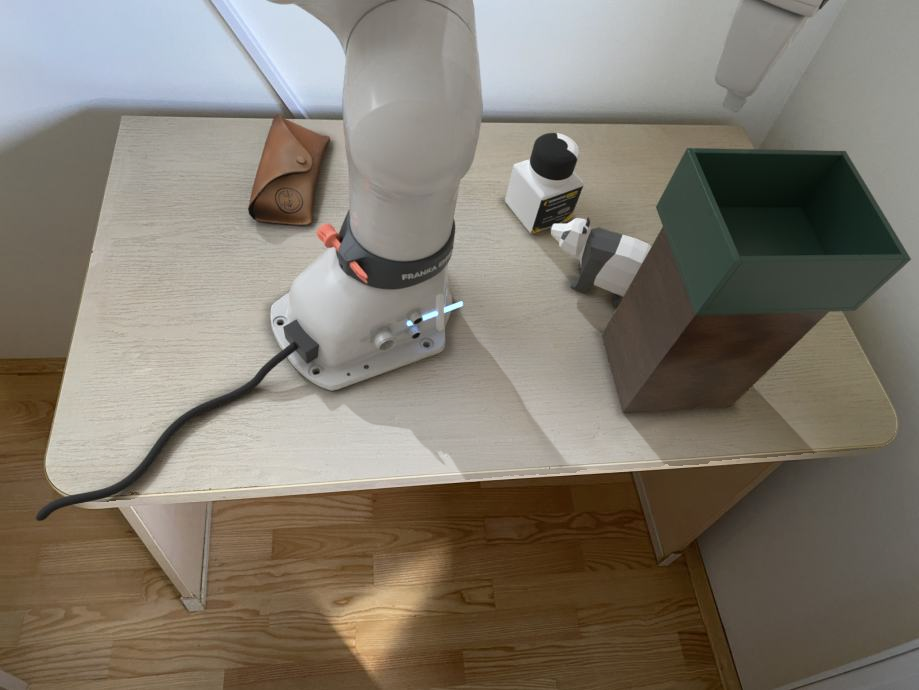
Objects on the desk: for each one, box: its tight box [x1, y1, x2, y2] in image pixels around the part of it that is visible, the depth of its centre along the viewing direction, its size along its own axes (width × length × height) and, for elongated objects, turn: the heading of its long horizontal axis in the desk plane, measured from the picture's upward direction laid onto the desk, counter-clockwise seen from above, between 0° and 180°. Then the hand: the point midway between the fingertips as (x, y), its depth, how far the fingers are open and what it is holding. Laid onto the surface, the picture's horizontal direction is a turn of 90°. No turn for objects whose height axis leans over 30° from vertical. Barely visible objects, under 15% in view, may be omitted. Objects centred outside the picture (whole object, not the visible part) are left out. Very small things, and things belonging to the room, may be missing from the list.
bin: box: [655, 147, 912, 315], centre depth 61 cm, size 16×13×8 cm
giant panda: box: [549, 216, 652, 307], centre depth 85 cm, size 15×6×10 cm, turn 67°
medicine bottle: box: [504, 132, 585, 235], centre depth 90 cm, size 7×7×12 cm
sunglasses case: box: [247, 113, 331, 226], centre depth 91 cm, size 18×7×7 cm
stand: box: [601, 226, 829, 414], centre depth 73 cm, size 14×11×22 cm
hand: (752, 80), depth 66 cm, fingers open, 8 cm apart
